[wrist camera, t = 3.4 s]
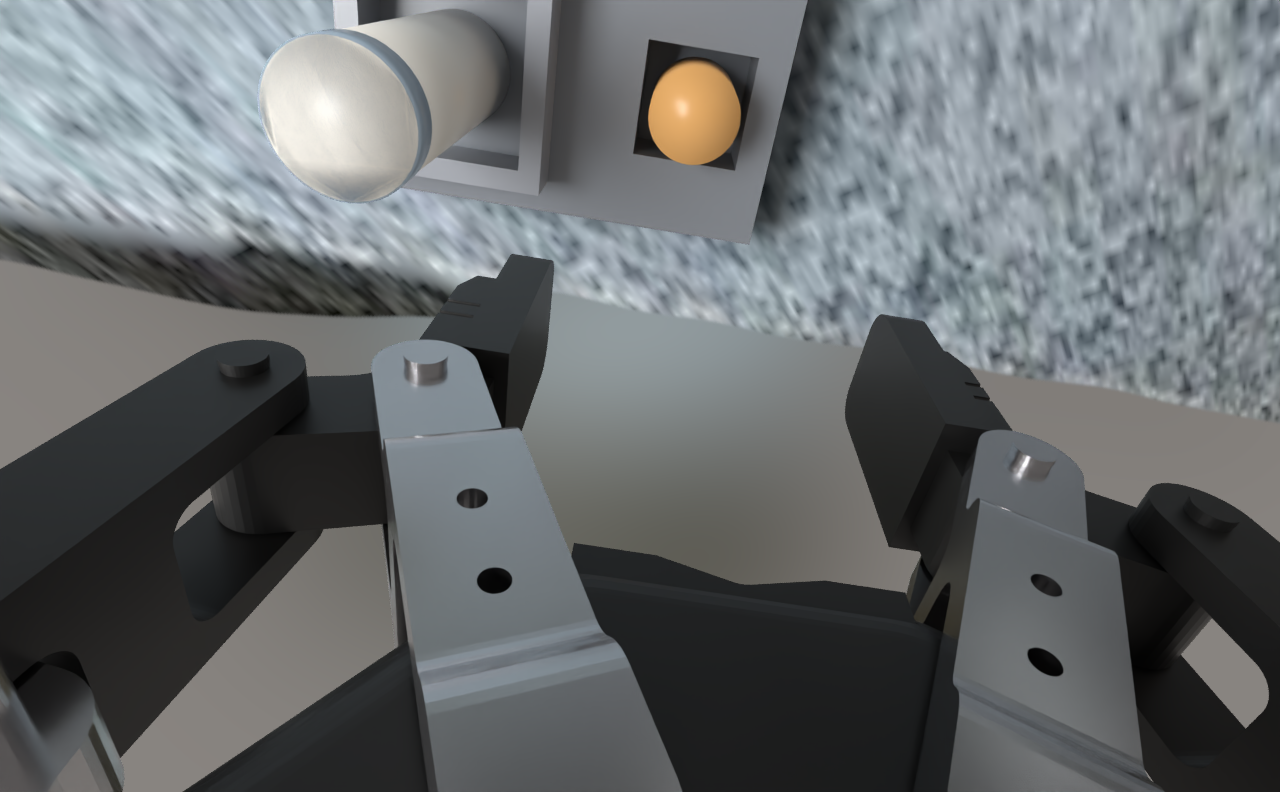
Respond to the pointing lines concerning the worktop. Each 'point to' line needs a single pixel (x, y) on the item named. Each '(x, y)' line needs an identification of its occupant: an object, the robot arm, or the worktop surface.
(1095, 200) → the worktop surface
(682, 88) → the button
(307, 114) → the cartridge
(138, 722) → the robot arm
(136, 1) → the worktop surface
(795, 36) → the housing
